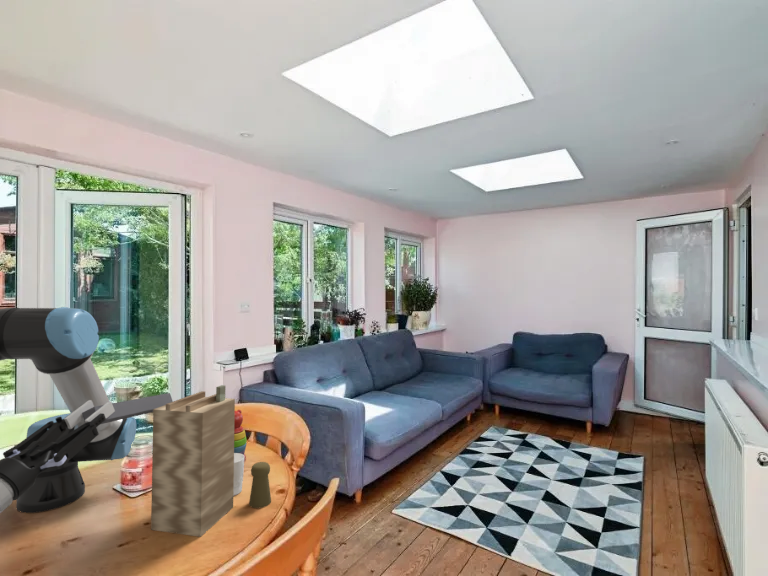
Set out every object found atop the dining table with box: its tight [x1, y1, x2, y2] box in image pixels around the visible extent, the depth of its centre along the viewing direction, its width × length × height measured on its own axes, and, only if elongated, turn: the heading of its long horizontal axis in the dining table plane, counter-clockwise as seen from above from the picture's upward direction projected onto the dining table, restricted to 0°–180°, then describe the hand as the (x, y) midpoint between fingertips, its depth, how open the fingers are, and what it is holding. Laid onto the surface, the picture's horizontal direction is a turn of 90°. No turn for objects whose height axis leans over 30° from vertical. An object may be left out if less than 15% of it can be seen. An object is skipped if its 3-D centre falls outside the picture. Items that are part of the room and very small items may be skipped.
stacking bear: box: [234, 409, 248, 463], centre depth 143 cm, size 11×10×18 cm
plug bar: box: [82, 392, 173, 424], centre depth 103 cm, size 4×24×4 cm, turn 168°
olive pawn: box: [248, 461, 272, 509], centre depth 115 cm, size 6×6×11 cm
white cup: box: [233, 453, 245, 497], centre depth 121 cm, size 8×8×10 cm
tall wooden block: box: [150, 384, 236, 538], centre depth 107 cm, size 14×14×34 cm
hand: (101, 405), depth 94 cm, fingers closed on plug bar, 5 cm apart
